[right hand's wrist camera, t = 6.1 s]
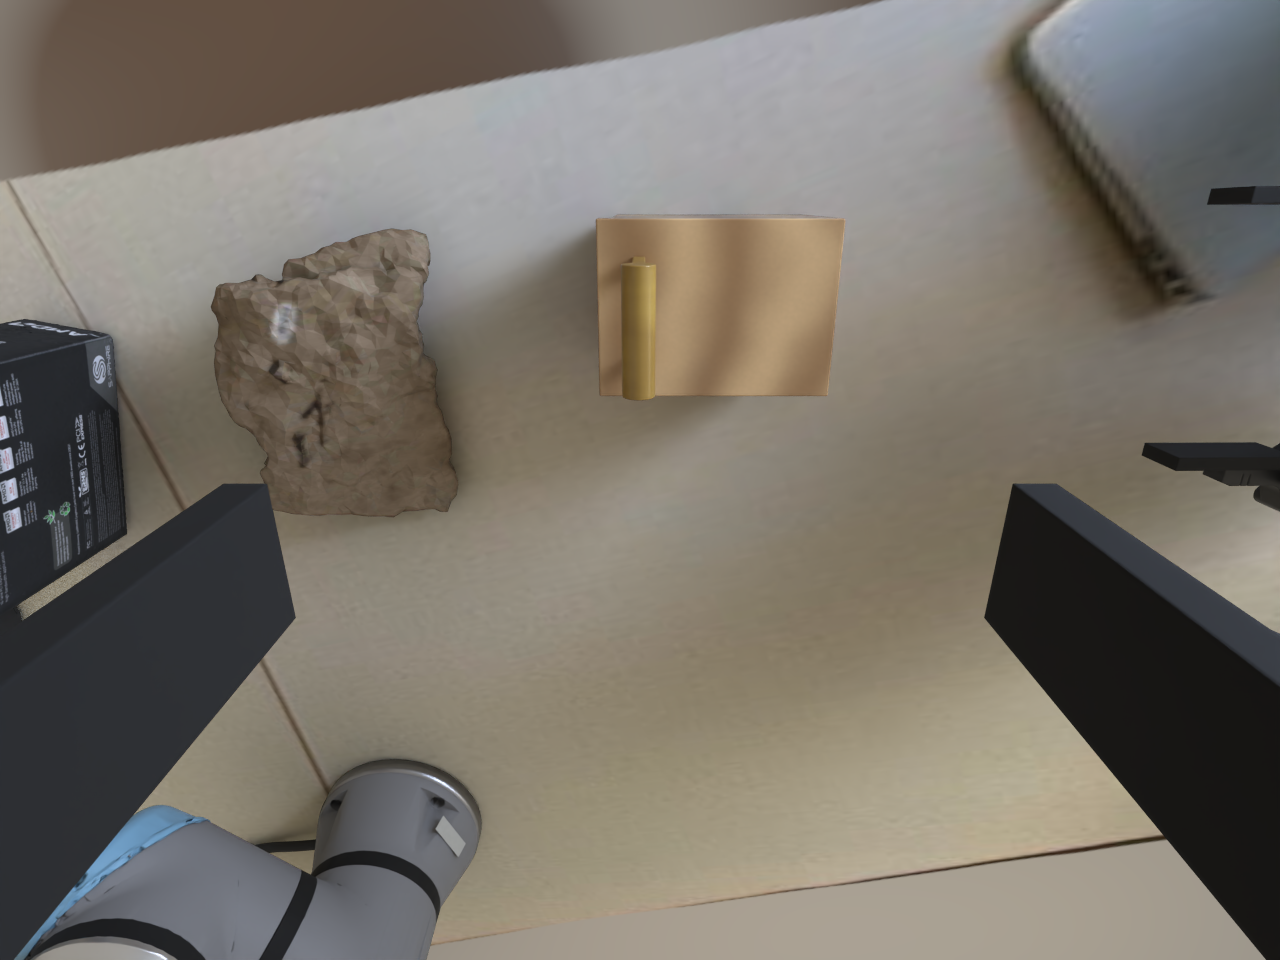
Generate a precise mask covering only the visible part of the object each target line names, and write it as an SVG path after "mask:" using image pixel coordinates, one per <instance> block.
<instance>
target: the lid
mask: <svg viewBox="0 0 1280 960" xmlns="http://www.w3.org/2000/svg"><path fill="white" fill-rule="evenodd" d="M844 230H845V219H843V218H598V219H596V253H597V298H598V343H599V389H600V396H622V397H623V398H625V399H629V400H648V399H652V398H654V397H655V396H827V395H828V387H829V377H830V367H831V357H832V348H833V338H834V328H835V318H836V308H837V299H838V289H839V279H840V269H841V259H842V250H843V240H844Z"/></svg>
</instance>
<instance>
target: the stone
mask: <svg viewBox="0 0 1280 960" xmlns="http://www.w3.org/2000/svg"><path fill="white" fill-rule="evenodd" d="M429 264H430V251H429V243H428V239H427V236H426V234H423V233H420V232H417V231H414V230H397V229H386V230H382V231H378V232H374V233H370V234H366V235H361V236H358V237H355V238H352V239H351V240H349V241H347V242H335V243H334V244H332V245H330V246H327V247H323V248H321V249H320V250H318V251H317V252H316V253H314V254H311V255H308V256H305V257H303V258H299V259H289V260H288V261H287V262H286V263H285V264H284V268H283V273H282V276H283V280H281V281H276V282H274V281H272V280H269V279H267V278H265V277H264V276H262V275H255V276H254V277H253V278H252V280H248V281H244V282H241V283H225V284H220V285H219V286H217V287H216V292H215V296H214V299H213V302H212V305H211V309H212V311H213V312H214V314H215V315H216V317H217V320H218V324H219V328H218V338H217V340H216V343H215V345H214V346H215V350H216V353H215V360H214V366H215V376H216V380H217V384H218V389H219V393H220V396H221V400H222V402H223V404H224V405H225V407H226V409H227V411H228V413H229V415H230V417H231V418H232V419H233V421H234V422H235V423H237V424H238V425H239V426H241V427H244V428H246V429H247V430H249V431H250V432H251V433H252V434H253V435H254V436H255V437H256V439H257V441H258V443H259V445H260V446H261V447H262V448H263V449H264V451H265V452H266V453H267V455H268V458H267V459H266V461H265V463H264V464H265V465H266V466H265V467H264V468H263V469H262V470H261V472H260V474H261V476H262V478H263V481H264V483H265V484H267V485H268V490H269V495H270V500H271V504H272V509H273V510H277V511H283V512H287V513H291V514H301V515H327V514H334V515H339V514H353V515H361V516H385V517H395V516H396V515H398V514H399V513H401V512H403V511H416V510H423V509H436V510H438V511H441V512H448V509H449V506H450V503H451V501H452V500H453V499H454V497H455V496H456V495H457V489H458V480H457V477H456V472H455V470H454V468H453V466H452V464H451V463H450V461H449V459H450V457H451V455H452V451H451V436H450V433H449V430H448V429H447V427H446V426H445V423H444V419H443V415H442V413H441V410H440V408H439V407H438V405H437V402H436V400H437V393H436V390H435V385H436V373H437V368H436V366H435V361H434V360H433V359H432V358H429V357H427V356H425V355H424V353H423V348H424V344H423V342H422V333H421V332H420V330H419V326H418V323H417V319H418V316H419V315H418V311H419V308H420V307H421V306H422V303H423V297H424V292H423V285H424V283H425V282H426V281H427V278H428V275H429V271H428V267H427V266H429Z"/></svg>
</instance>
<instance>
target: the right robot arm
mask: <svg viewBox="0 0 1280 960" xmlns="http://www.w3.org/2000/svg"><path fill="white" fill-rule="evenodd" d="M295 618H296V617H295V612H294V607H293V603H292V598H291V593H290V589H289V584H288V579H287V575H286V570H285V565H284V561H283V556H282V551H281V546H280V542H279V537H278V532H277V528H276V523H275V518H274V514H273V509H272V504H271V500H270V495H269V490H268V485H267V484H223V485H221V486H220V487H218V488H217V489H215V490H214V491H212V492H211V493H209V494H208V495H206V496H205V497H203V498H202V499H201V500H199V501H198V502H196V503H195V504H193V505H192V506H190V507H189V508H187V509H186V510H184V511H183V512H181V513H180V514H179V515H177V516H176V517H174V518H173V519H171V520H170V521H168V522H167V523H165V524H164V525H162V526H161V527H159V528H158V529H157V530H155V531H154V532H152V533H151V534H149V535H148V536H146V537H145V538H143V539H142V540H140V541H139V542H137V543H136V544H134V545H133V546H132V547H130V548H129V549H127V550H126V551H124V552H123V553H121V554H120V555H118V556H117V557H115V558H114V559H112V560H111V561H110V562H108V563H107V564H105V565H104V566H102V567H101V568H99V569H98V570H96V571H95V572H93V573H92V574H90V575H89V576H88V577H86V578H85V579H83V580H82V581H80V582H79V583H77V584H76V585H74V586H73V587H71V588H70V589H68V590H67V591H65V592H64V593H63V594H61V595H60V596H58V597H57V598H55V599H54V600H52V601H51V602H49V603H48V604H46V605H45V606H43V607H42V608H41V609H39V610H38V611H36V612H35V613H33V614H32V615H30V616H29V617H27V618H26V619H24V620H23V621H21V622H20V623H19V624H17V625H16V626H14V627H13V628H11V629H10V630H8V631H7V632H5V633H4V634H2V635H1V636H0V960H426V959H427V955H428V951H429V948H430V944H431V941H432V937H433V933H434V930H435V926H436V922H437V918H438V915H439V912H440V908H441V906H442V905H443V903H444V902H445V900H446V899H447V897H448V896H449V894H450V893H451V891H452V890H453V888H454V887H455V885H456V884H457V882H458V881H459V879H460V878H461V876H462V875H463V873H464V872H465V870H466V869H467V867H468V866H469V864H470V863H471V861H472V859H473V857H474V855H475V853H476V849H477V846H478V842H479V838H480V834H481V825H482V822H481V815H480V811H479V808H478V806H477V804H476V802H475V800H474V798H473V797H472V795H471V794H470V793H469V792H468V790H467V789H466V788H465V787H464V786H463V785H462V784H461V783H460V782H458V781H457V780H456V779H454V778H453V777H452V776H450V775H448V774H447V773H445V772H443V771H441V770H439V769H437V768H435V767H432V766H430V765H426V764H423V763H419V762H415V761H409V760H399V759H390V760H379V761H374V762H370V763H366V764H363V765H360V766H358V767H356V768H354V769H352V770H350V771H349V772H347V773H346V774H344V775H343V776H342V777H341V778H340V779H339V780H338V781H337V782H336V783H335V784H334V786H333V787H332V789H331V791H330V793H329V795H328V796H327V798H326V800H325V802H324V804H323V806H322V809H321V812H320V816H319V821H318V828H317V836H316V840H305V841H289V842H272V843H264V844H259V845H253V844H251V843H249V842H247V841H245V840H243V839H241V838H239V837H238V836H236V835H234V834H232V833H230V832H228V831H226V830H224V829H222V828H220V827H218V826H217V825H215V824H213V823H211V822H210V820H208V819H205V818H204V817H195V816H192V815H190V814H188V813H185V812H183V811H180V810H178V809H176V808H173V807H171V806H166V805H156V806H151V807H148V808H146V809H143V810H141V811H139V812H138V813H136V814H135V815H134V813H135V812H136V811H137V810H138V809H139V807H140V806H141V805H142V804H143V802H144V801H145V800H146V799H147V798H148V796H149V795H150V794H151V793H152V792H153V790H154V789H155V788H156V787H157V785H158V784H159V783H160V782H161V781H162V779H163V778H164V777H165V776H166V775H167V773H168V772H169V771H170V770H171V768H172V767H173V766H174V765H175V764H176V762H177V761H178V760H179V759H180V758H181V756H182V755H183V754H184V753H185V752H186V750H187V749H188V748H189V747H190V745H191V744H192V743H193V742H194V741H195V739H196V738H197V737H198V736H199V735H200V733H201V732H202V731H203V730H204V728H205V727H206V726H207V725H208V724H209V722H210V721H211V720H212V719H213V718H214V716H215V715H216V714H217V713H218V711H219V710H220V709H221V708H222V707H223V705H224V704H225V703H226V702H227V701H228V699H229V698H230V697H231V696H232V694H233V693H234V692H235V691H236V690H237V688H238V687H239V686H240V685H241V684H242V682H243V681H244V680H245V679H246V678H247V676H248V675H249V674H250V673H251V671H252V670H253V669H254V668H255V667H256V665H257V664H258V663H259V662H260V661H261V659H262V658H263V657H264V656H265V654H266V653H267V652H268V651H269V650H270V648H271V647H272V646H273V645H274V644H275V642H276V641H277V640H278V639H279V637H280V636H281V635H282V634H283V633H284V631H285V630H286V629H287V628H288V627H289V625H290V624H291V623H292V622H293V620H294V619H295ZM984 618H985V619H986V620H987V622H988V623H989V624H990V625H991V627H992V628H993V629H994V630H995V631H996V633H997V634H998V635H999V636H1000V637H1001V639H1002V640H1003V641H1004V642H1005V644H1006V645H1007V646H1008V647H1009V648H1010V650H1011V651H1012V652H1013V653H1014V654H1015V656H1016V657H1017V658H1018V659H1019V661H1020V662H1021V663H1022V664H1023V665H1024V667H1025V668H1026V669H1027V670H1028V671H1029V673H1030V674H1031V675H1032V676H1033V678H1034V679H1035V680H1036V681H1037V682H1038V684H1039V685H1040V686H1041V687H1042V688H1043V690H1044V691H1045V692H1046V693H1047V694H1048V696H1049V697H1050V698H1051V699H1052V701H1053V702H1054V703H1055V704H1056V705H1057V707H1058V708H1059V709H1060V710H1061V711H1062V713H1063V714H1064V715H1065V716H1066V718H1067V719H1068V720H1069V721H1070V722H1071V724H1072V725H1073V726H1074V727H1075V728H1076V730H1077V731H1078V732H1079V733H1080V735H1081V736H1082V737H1083V738H1084V739H1085V741H1086V742H1087V743H1088V744H1089V745H1090V747H1091V748H1092V749H1093V750H1094V752H1095V753H1096V754H1097V755H1098V756H1099V758H1100V759H1101V760H1102V761H1103V762H1104V764H1105V765H1106V766H1107V767H1108V768H1109V770H1110V771H1111V772H1112V773H1113V775H1114V776H1115V777H1116V778H1117V779H1118V781H1119V782H1120V783H1121V784H1122V785H1123V787H1124V788H1125V789H1126V790H1127V792H1128V793H1129V794H1130V795H1131V796H1132V798H1133V799H1134V800H1135V801H1136V802H1137V804H1138V805H1139V806H1140V807H1141V809H1142V810H1143V811H1144V812H1145V813H1146V815H1147V816H1148V817H1149V818H1150V819H1151V821H1152V822H1153V823H1154V824H1155V826H1156V827H1157V828H1158V829H1159V830H1160V832H1161V833H1162V834H1163V835H1164V836H1165V838H1166V839H1167V840H1168V841H1169V842H1170V844H1171V845H1172V846H1173V847H1174V849H1175V850H1176V851H1177V852H1178V853H1179V855H1180V856H1181V857H1182V858H1183V859H1184V861H1185V862H1186V863H1187V864H1188V866H1189V867H1190V868H1191V869H1192V870H1193V872H1194V873H1195V874H1196V875H1197V876H1198V878H1199V879H1200V880H1201V881H1202V883H1203V884H1204V885H1205V886H1206V887H1207V889H1208V890H1209V891H1210V892H1211V893H1212V895H1213V896H1214V897H1215V898H1216V899H1217V901H1218V902H1219V903H1220V904H1221V906H1222V907H1223V908H1224V909H1225V910H1226V912H1227V913H1228V914H1229V915H1230V916H1231V918H1232V919H1233V920H1234V921H1235V923H1236V924H1237V925H1238V926H1239V927H1240V929H1241V930H1242V931H1243V932H1244V933H1245V935H1246V936H1247V937H1248V938H1249V940H1250V941H1251V942H1252V943H1253V944H1254V946H1255V947H1256V948H1257V949H1258V950H1259V952H1260V953H1261V954H1262V955H1263V957H1264V958H1265V959H1266V960H1280V634H1279V633H1277V632H1275V631H1272V630H1270V629H1269V628H1267V627H1266V626H1264V625H1263V624H1261V623H1260V622H1259V621H1257V620H1256V619H1254V618H1253V617H1251V616H1250V615H1248V614H1247V613H1245V612H1244V611H1242V610H1241V609H1239V608H1238V607H1237V606H1235V605H1234V604H1232V603H1231V602H1229V601H1228V600H1226V599H1225V598H1223V597H1222V596H1220V595H1219V594H1217V593H1216V592H1215V591H1213V590H1212V589H1210V588H1209V587H1207V586H1206V585H1204V584H1203V583H1201V582H1200V581H1198V580H1197V579H1195V578H1194V577H1192V576H1191V575H1190V574H1188V573H1187V572H1185V571H1184V570H1182V569H1181V568H1179V567H1178V566H1176V565H1175V564H1173V563H1172V562H1170V561H1169V560H1168V559H1166V558H1165V557H1163V556H1162V555H1160V554H1159V553H1157V552H1156V551H1154V550H1153V549H1151V548H1150V547H1148V546H1147V545H1146V544H1144V543H1143V542H1141V541H1140V540H1138V539H1137V538H1135V537H1134V536H1132V535H1131V534H1129V533H1128V532H1126V531H1125V530H1123V529H1122V528H1121V527H1119V526H1118V525H1116V524H1115V523H1113V522H1112V521H1110V520H1109V519H1107V518H1106V517H1104V516H1103V515H1101V514H1100V513H1099V512H1097V511H1096V510H1094V509H1093V508H1091V507H1090V506H1088V505H1087V504H1085V503H1084V502H1082V501H1081V500H1079V499H1078V498H1077V497H1075V496H1074V495H1072V494H1071V493H1069V492H1068V491H1066V490H1065V489H1063V488H1062V487H1060V486H1059V485H1057V484H1013V485H1012V490H1011V495H1010V500H1009V504H1008V509H1007V514H1006V518H1005V523H1004V528H1003V532H1002V537H1001V542H1000V546H999V551H998V556H997V561H996V565H995V570H994V575H993V579H992V584H991V589H990V593H989V598H988V603H987V607H986V612H985V617H984ZM307 850H315V852H314V861H313V869H312V873H311V875H310V874H308V873H306V872H304V871H302V870H300V869H298V868H296V867H295V866H293V865H291V864H289V863H287V862H285V861H283V860H281V859H279V858H277V857H276V856H274V855H272V854H270V853H272V852H292V851H307Z"/></svg>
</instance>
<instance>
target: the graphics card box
mask: <svg viewBox="0 0 1280 960" xmlns="http://www.w3.org/2000/svg"><path fill="white" fill-rule="evenodd" d="M113 349H114V346H113V340H112V338H111V336H110V335H108V334H105V333H100V332H96V331H88V330H83V329H78V328H72V327H66V326H60V325H58V324H51V323H45V322H40V321H36V320H27V319H23V320H17V321H12V322H6V323H2V324H0V616H1V615H3V614H4V613H6V612H8V611H9V610H11V609H12V608H14V607H15V606H17V605H18V604H20V603H21V602H23V601H24V600H26V599H27V598H29V597H31V596H32V595H34V594H35V593H37V592H39V591H40V590H41V589H43V588H44V587H46V586H47V585H49V584H51V583H52V582H54V581H55V580H57V579H58V578H60V577H62V576H63V575H65V574H66V573H68V572H69V571H71V570H72V569H74V568H75V567H77V566H78V565H80V564H81V563H83V562H84V561H86V560H87V559H89V558H91V557H92V556H94V555H95V554H97V553H98V552H99V551H101V550H103V549H104V548H106V547H108V546H109V545H110V544H112V543H114V542H115V541H117V540H118V539H120V538H121V537H123V536H124V535H126V534H127V525H126V513H125V497H124V488H123V487H124V484H123V474H122V473H123V470H122V459H121V443H120V429H119V418H118V404H117V390H116V374H115V360H114V351H113Z"/></svg>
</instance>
